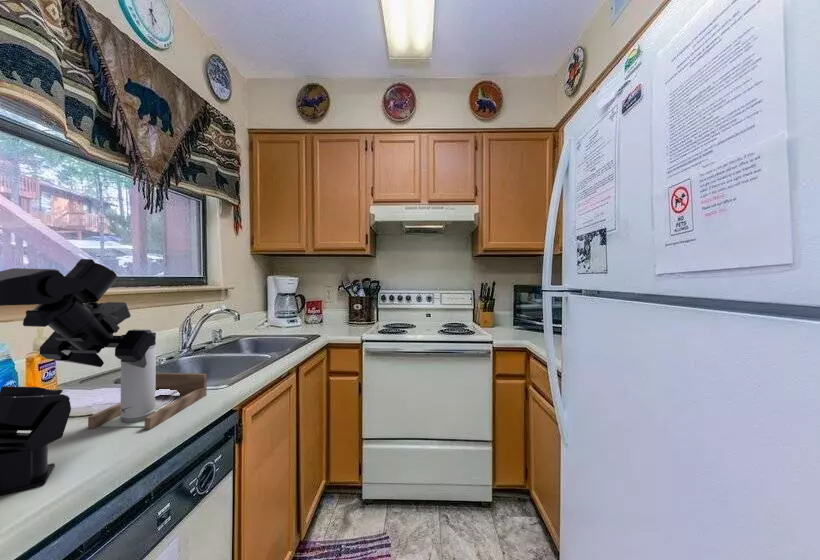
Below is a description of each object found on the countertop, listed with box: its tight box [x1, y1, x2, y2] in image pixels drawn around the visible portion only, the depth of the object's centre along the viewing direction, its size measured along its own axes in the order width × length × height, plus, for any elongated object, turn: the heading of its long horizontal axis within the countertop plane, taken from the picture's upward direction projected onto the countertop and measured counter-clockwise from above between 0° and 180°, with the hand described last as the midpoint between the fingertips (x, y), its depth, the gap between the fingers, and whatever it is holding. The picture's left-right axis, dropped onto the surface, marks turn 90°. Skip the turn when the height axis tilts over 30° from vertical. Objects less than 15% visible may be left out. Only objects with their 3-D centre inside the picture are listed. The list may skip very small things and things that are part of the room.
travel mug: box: [120, 332, 157, 423], centre depth 78 cm, size 6×7×20 cm
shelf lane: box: [87, 372, 208, 431], centre depth 83 cm, size 21×13×6 cm, turn 1°
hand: (123, 365), depth 74 cm, fingers open, 9 cm apart
